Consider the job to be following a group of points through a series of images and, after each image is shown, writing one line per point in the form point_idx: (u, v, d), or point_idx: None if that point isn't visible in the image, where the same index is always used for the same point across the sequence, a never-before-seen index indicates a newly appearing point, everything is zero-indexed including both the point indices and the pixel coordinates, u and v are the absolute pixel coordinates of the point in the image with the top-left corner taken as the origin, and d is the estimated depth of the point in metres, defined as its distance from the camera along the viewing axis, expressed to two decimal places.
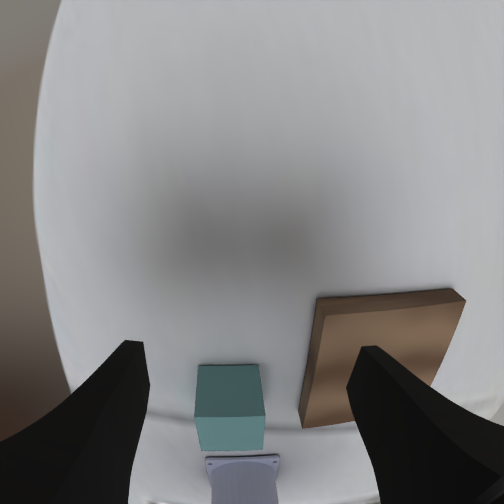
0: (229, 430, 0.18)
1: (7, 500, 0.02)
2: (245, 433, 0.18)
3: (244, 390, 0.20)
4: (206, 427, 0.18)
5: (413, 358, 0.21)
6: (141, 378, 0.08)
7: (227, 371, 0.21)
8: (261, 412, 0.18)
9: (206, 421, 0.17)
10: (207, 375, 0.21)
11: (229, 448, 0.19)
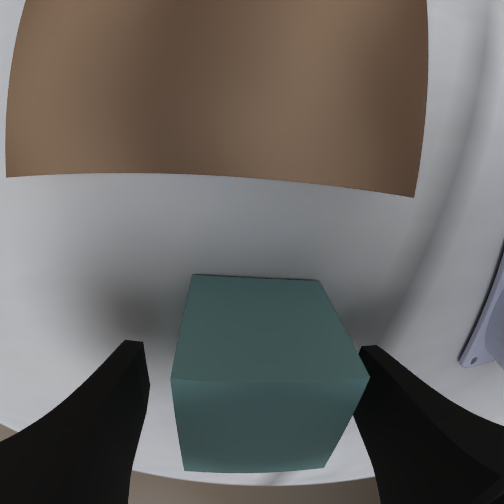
0: (240, 439, 0.07)
1: (7, 500, 0.02)
2: (259, 417, 0.07)
3: None
4: (221, 463, 0.08)
5: None
6: (141, 378, 0.08)
7: None
8: None
9: (197, 461, 0.07)
10: None
11: (329, 436, 0.07)
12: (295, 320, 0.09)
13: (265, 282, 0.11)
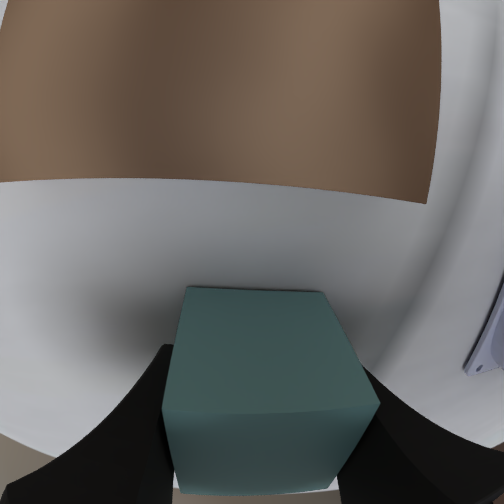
0: (240, 466, 0.06)
1: None
2: (260, 446, 0.06)
3: None
4: (219, 487, 0.07)
5: None
6: None
7: None
8: None
9: (193, 485, 0.07)
10: None
11: (334, 460, 0.06)
12: (298, 339, 0.08)
13: (265, 295, 0.10)
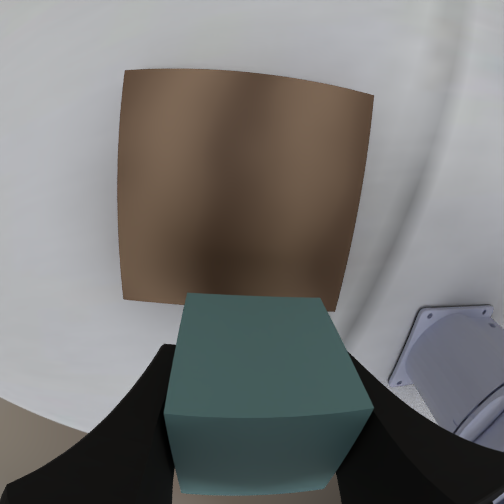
0: (238, 467, 0.06)
1: None
2: (258, 448, 0.06)
3: None
4: (219, 487, 0.07)
5: (222, 146, 0.13)
6: None
7: None
8: None
9: (194, 485, 0.07)
10: None
11: (330, 462, 0.07)
12: (295, 345, 0.08)
13: (264, 300, 0.10)
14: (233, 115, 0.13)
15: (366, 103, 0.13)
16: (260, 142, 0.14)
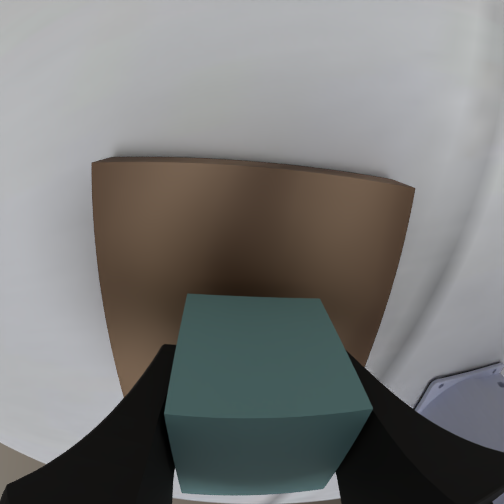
0: (239, 467, 0.06)
1: None
2: (258, 448, 0.06)
3: None
4: (219, 487, 0.07)
5: (225, 266, 0.11)
6: None
7: None
8: None
9: (194, 485, 0.07)
10: None
11: (329, 462, 0.07)
12: (295, 345, 0.08)
13: (264, 301, 0.10)
14: (238, 227, 0.11)
15: (405, 200, 0.11)
16: (273, 260, 0.11)
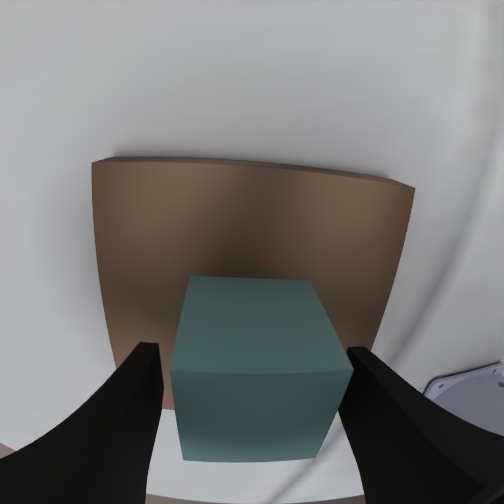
0: (235, 428, 0.08)
1: None
2: (252, 406, 0.07)
3: None
4: (218, 452, 0.08)
5: (225, 266, 0.11)
6: (157, 380, 0.08)
7: None
8: None
9: (195, 450, 0.08)
10: None
11: (318, 426, 0.08)
12: (285, 317, 0.09)
13: (258, 282, 0.11)
14: (238, 227, 0.11)
15: (405, 200, 0.11)
16: (273, 260, 0.11)
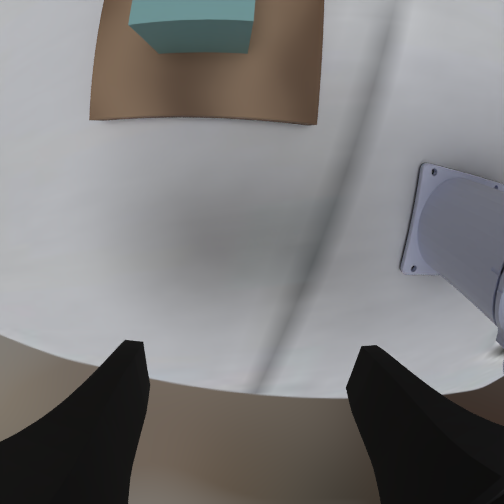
0: None
1: (7, 500, 0.02)
2: None
3: None
4: (160, 6, 0.08)
5: None
6: (141, 378, 0.08)
7: None
8: None
9: (142, 6, 0.08)
10: None
11: None
12: None
13: None
14: None
15: None
16: None
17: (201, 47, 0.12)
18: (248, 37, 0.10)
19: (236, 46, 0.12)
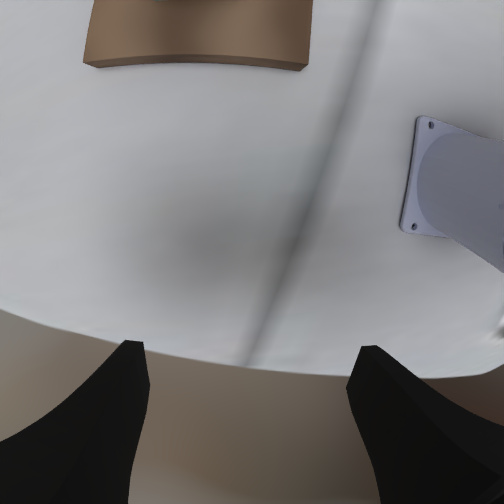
0: None
1: (7, 500, 0.02)
2: None
3: None
4: None
5: None
6: (141, 378, 0.08)
7: None
8: None
9: None
10: None
11: None
12: None
13: None
14: None
15: None
16: None
17: None
18: None
19: None
